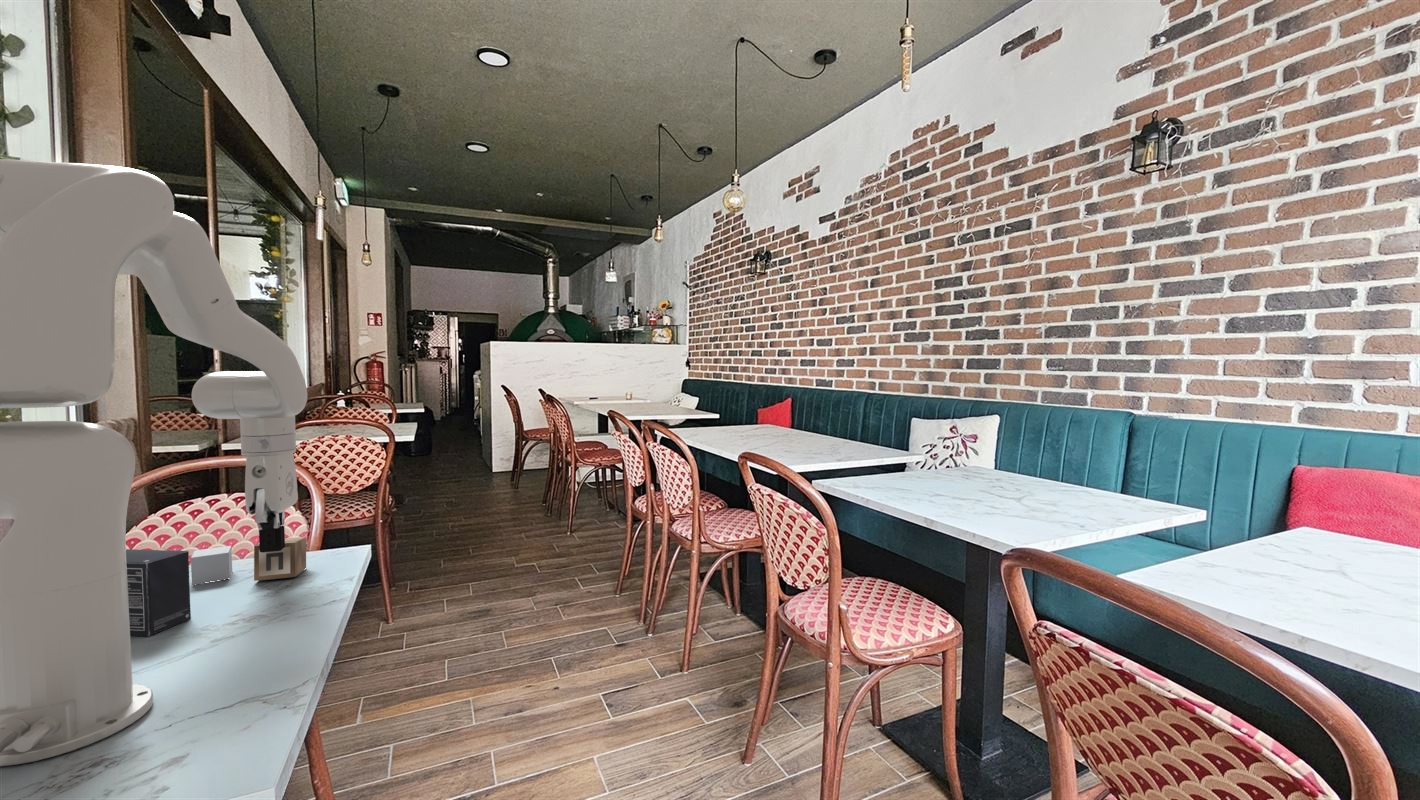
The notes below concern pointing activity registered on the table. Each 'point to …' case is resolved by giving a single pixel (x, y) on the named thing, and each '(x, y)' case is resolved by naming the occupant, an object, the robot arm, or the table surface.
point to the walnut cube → (281, 560)
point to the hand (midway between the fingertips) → (272, 550)
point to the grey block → (211, 564)
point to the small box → (157, 590)
